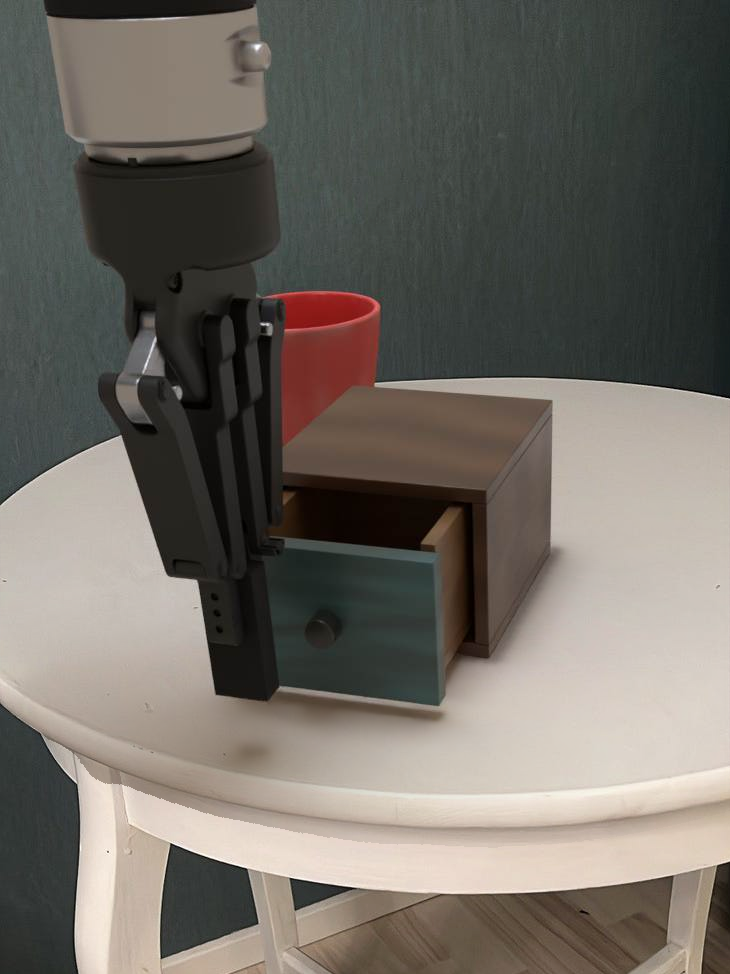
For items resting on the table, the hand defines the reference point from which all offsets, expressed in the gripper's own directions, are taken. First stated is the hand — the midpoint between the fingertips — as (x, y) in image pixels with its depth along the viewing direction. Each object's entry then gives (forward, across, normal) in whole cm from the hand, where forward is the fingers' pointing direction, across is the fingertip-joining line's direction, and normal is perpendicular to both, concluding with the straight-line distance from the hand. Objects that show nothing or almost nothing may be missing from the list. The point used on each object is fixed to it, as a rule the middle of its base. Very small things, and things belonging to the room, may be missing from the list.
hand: (247, 690), depth 65 cm
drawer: (+2, +11, -2) cm, 11 cm away
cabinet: (+3, +19, -2) cm, 20 cm away
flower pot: (+4, +42, +14) cm, 44 cm away
